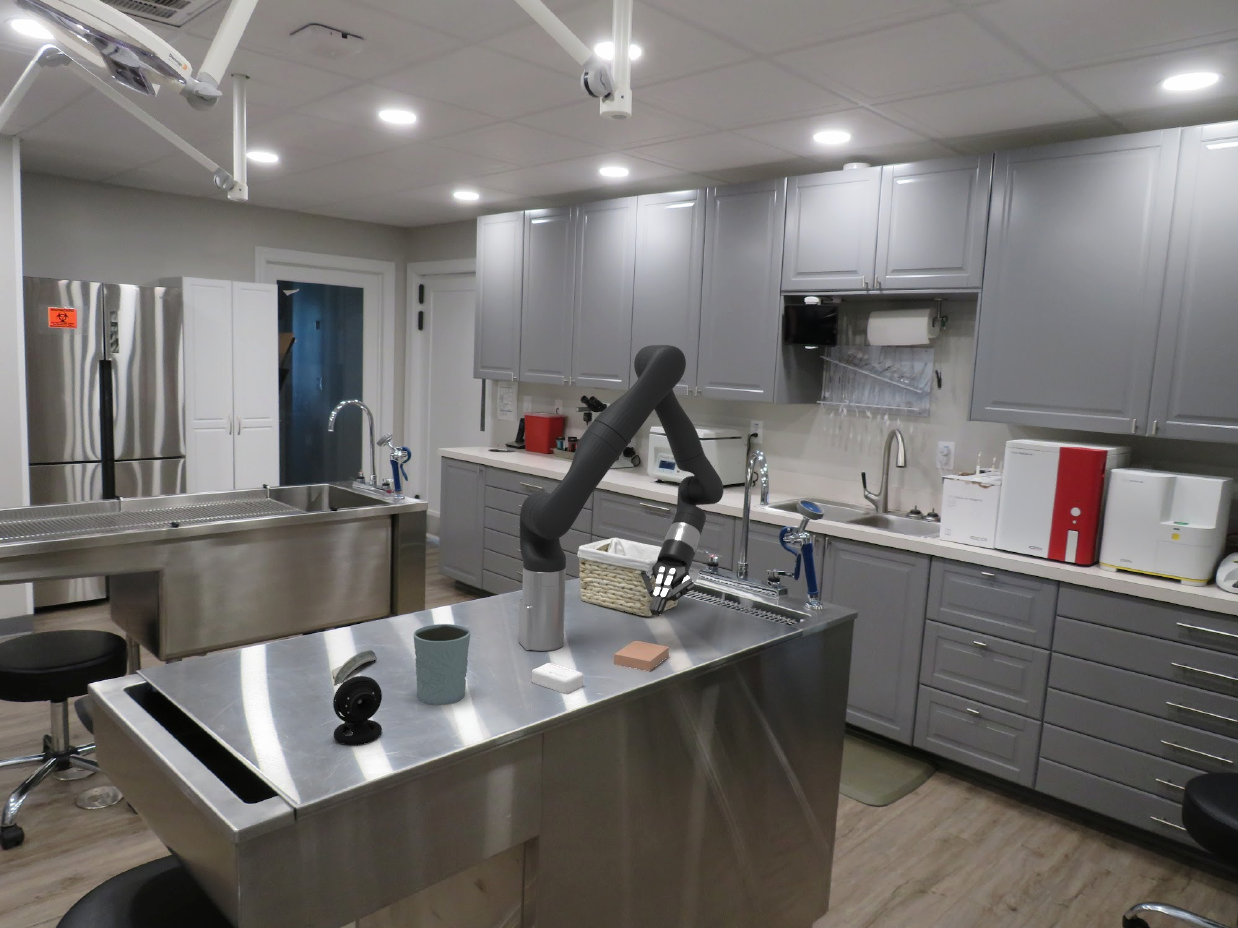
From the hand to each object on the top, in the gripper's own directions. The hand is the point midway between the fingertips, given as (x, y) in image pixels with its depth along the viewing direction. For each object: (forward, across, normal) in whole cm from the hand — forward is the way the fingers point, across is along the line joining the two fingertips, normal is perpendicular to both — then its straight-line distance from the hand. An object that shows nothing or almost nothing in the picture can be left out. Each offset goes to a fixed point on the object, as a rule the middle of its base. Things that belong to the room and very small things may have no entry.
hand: (654, 614), depth 177 cm
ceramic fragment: (+36, -45, -23) cm, 62 cm away
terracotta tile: (+6, 0, +5) cm, 8 cm away
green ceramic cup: (+35, -24, -23) cm, 49 cm away
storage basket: (-14, -20, +27) cm, 37 cm away
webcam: (+50, -25, -37) cm, 67 cm away
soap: (+25, -8, -12) cm, 29 cm away
